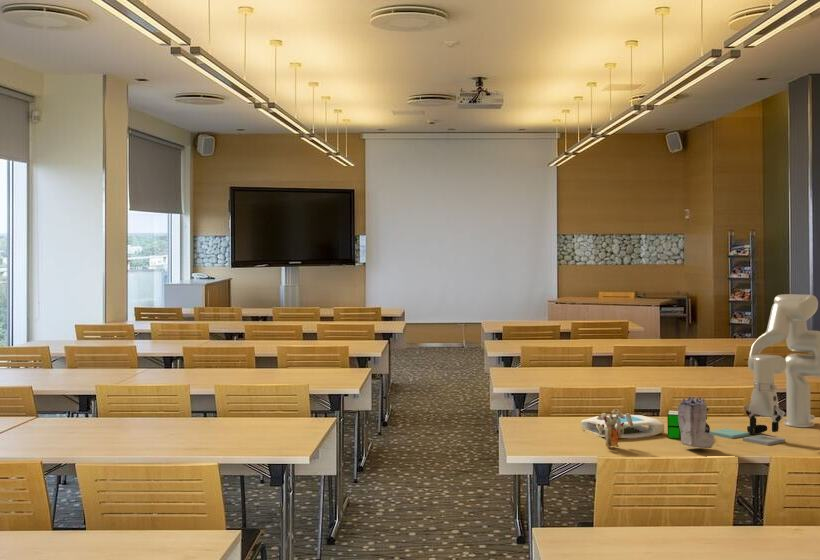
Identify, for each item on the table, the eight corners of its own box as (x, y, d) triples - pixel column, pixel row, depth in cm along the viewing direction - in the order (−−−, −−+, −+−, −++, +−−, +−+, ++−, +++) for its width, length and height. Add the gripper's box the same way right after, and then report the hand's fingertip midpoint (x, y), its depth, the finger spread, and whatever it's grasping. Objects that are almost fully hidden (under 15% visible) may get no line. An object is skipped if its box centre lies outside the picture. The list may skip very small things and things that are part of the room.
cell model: (718, 450, 308) (718, 398, 308) (692, 452, 306) (692, 399, 306) (700, 444, 320) (700, 393, 320) (675, 445, 319) (675, 394, 319)
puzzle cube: (693, 435, 338) (693, 411, 338) (693, 439, 329) (693, 415, 329) (668, 433, 342) (668, 410, 342) (667, 438, 332) (667, 414, 332)
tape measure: (769, 432, 336) (767, 423, 337) (756, 434, 334) (754, 425, 334) (757, 433, 343) (755, 424, 343) (744, 435, 340) (742, 426, 341)
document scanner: (580, 431, 349) (580, 417, 349) (635, 427, 358) (635, 413, 358) (608, 440, 329) (607, 425, 329) (665, 435, 338) (665, 420, 338)
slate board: (760, 437, 333) (760, 434, 333) (785, 442, 324) (785, 439, 324) (742, 440, 326) (742, 437, 326) (767, 445, 317) (767, 442, 317)
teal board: (726, 431, 346) (726, 428, 346) (749, 435, 337) (749, 432, 337) (709, 434, 340) (709, 431, 340) (731, 438, 331) (731, 435, 331)
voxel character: (621, 444, 320) (621, 406, 320) (634, 449, 311) (634, 410, 311) (595, 446, 317) (595, 407, 317) (608, 451, 308) (608, 411, 308)
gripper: (789, 389, 320) (789, 432, 320) (750, 384, 334) (750, 425, 334) (778, 390, 316) (778, 434, 316) (739, 385, 330) (739, 427, 330)
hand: (763, 429), depth 325 cm, fingers open, 9 cm apart
